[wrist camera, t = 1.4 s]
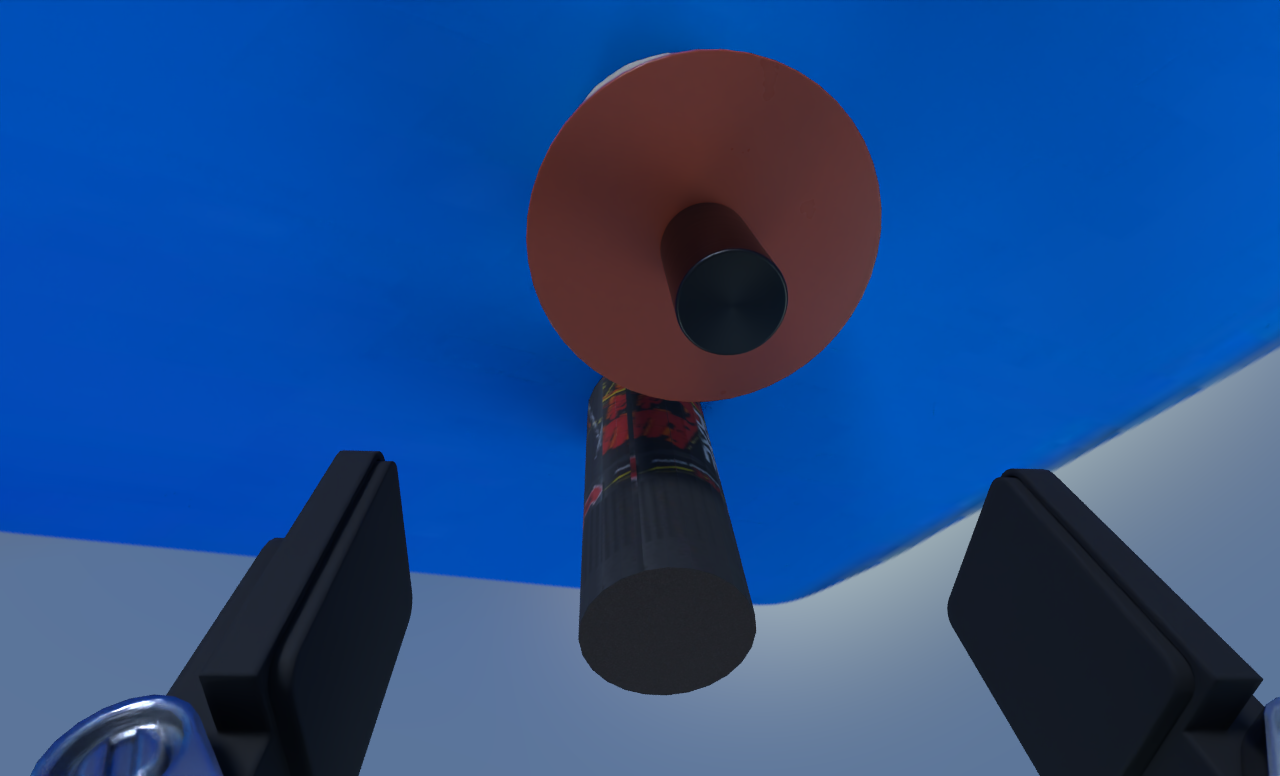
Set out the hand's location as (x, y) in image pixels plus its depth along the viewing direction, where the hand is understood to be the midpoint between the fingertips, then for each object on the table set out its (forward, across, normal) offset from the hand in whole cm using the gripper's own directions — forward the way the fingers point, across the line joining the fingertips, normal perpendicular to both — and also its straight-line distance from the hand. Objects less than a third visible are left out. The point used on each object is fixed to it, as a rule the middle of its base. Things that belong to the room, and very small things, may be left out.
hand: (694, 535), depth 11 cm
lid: (+13, -2, -1) cm, 13 cm away
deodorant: (+23, -1, +11) cm, 25 cm away
